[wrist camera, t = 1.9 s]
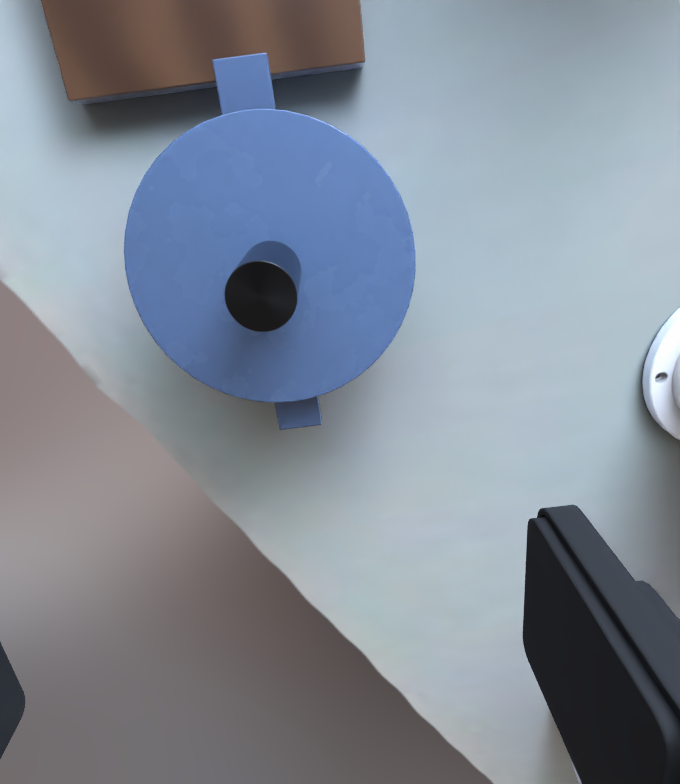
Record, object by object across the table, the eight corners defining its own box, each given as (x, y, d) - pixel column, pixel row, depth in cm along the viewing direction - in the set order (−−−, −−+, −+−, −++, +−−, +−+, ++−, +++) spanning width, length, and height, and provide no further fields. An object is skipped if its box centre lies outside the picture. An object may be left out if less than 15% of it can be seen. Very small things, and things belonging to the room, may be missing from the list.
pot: (369, 65, 31) (387, 33, 23) (395, 365, 38) (415, 419, 30) (145, 94, 31) (87, 72, 23) (212, 388, 38) (185, 447, 30)
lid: (400, 91, 25) (429, 68, 18) (420, 377, 30) (447, 433, 24) (96, 131, 25) (22, 122, 19) (169, 408, 30) (131, 472, 24)
